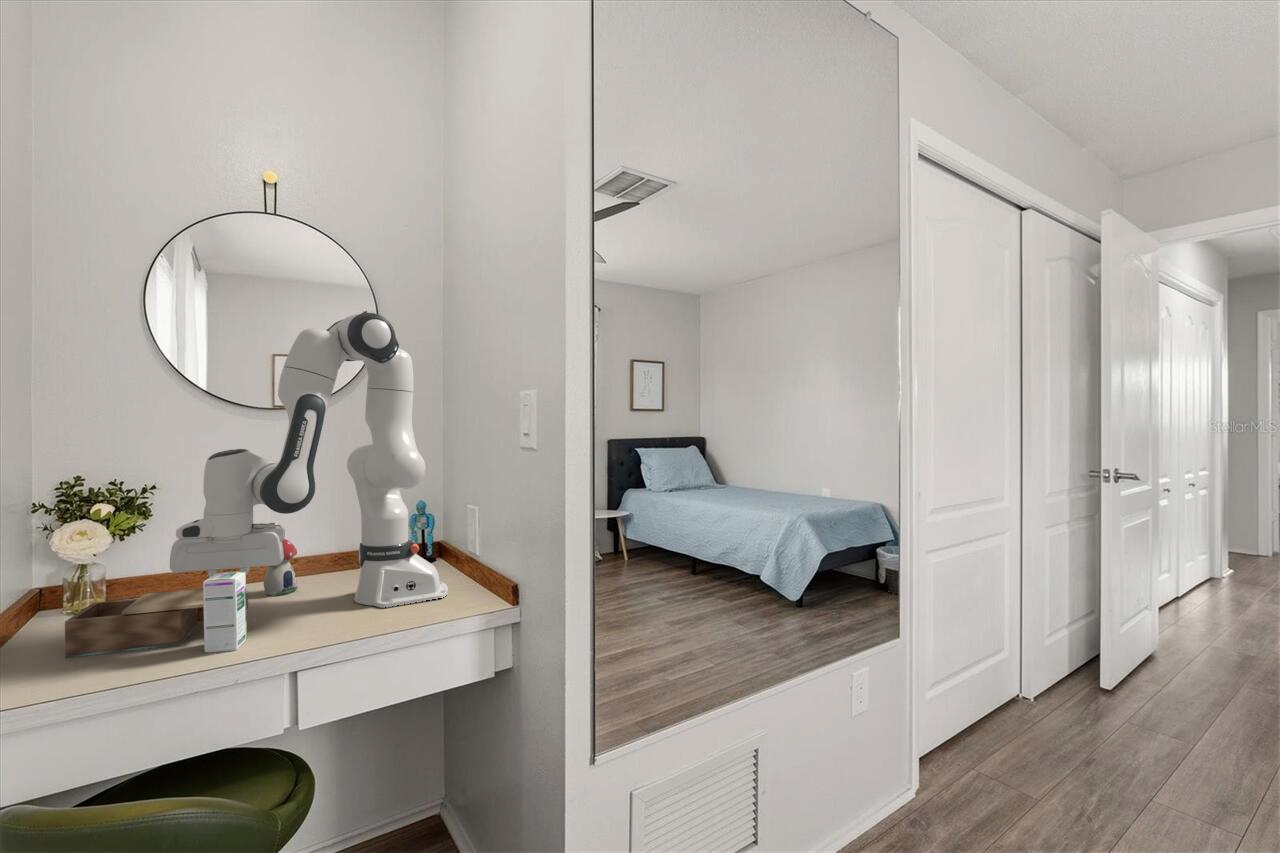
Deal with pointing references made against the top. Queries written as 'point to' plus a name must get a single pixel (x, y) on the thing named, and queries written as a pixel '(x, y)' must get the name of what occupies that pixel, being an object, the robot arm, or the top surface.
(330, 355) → the robot arm
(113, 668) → the top surface
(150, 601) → the lid
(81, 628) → the walnut box
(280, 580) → the decorative ornament
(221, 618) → the syrup box
